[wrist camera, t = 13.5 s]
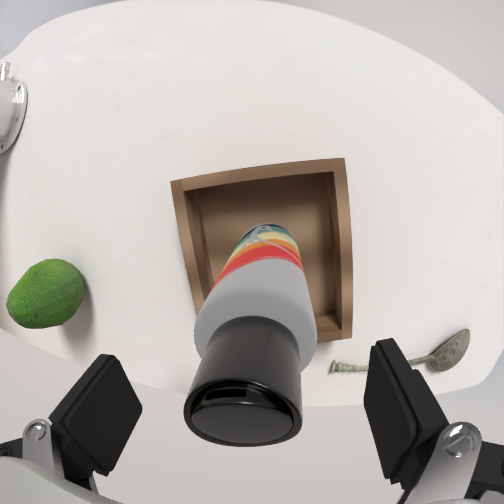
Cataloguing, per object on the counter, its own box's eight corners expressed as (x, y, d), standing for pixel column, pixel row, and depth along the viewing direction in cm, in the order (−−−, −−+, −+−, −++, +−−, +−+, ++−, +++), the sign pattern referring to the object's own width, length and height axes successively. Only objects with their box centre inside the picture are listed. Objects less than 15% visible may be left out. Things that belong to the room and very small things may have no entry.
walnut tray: (188, 180, 26) (170, 181, 21) (332, 160, 24) (344, 157, 19) (216, 325, 30) (206, 349, 25) (342, 314, 28) (351, 338, 23)
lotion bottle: (289, 215, 25) (321, 348, 6) (303, 271, 26) (339, 460, 7) (230, 230, 26) (119, 373, 7) (247, 284, 27) (195, 470, 8)
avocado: (50, 252, 30) (-13, 281, 18) (87, 247, 29) (17, 281, 17) (64, 304, 32) (11, 344, 20) (102, 306, 31) (46, 355, 20)
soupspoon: (458, 358, 30) (470, 320, 28) (469, 369, 26) (483, 330, 25) (327, 382, 31) (332, 340, 30) (331, 398, 28) (338, 356, 26)
